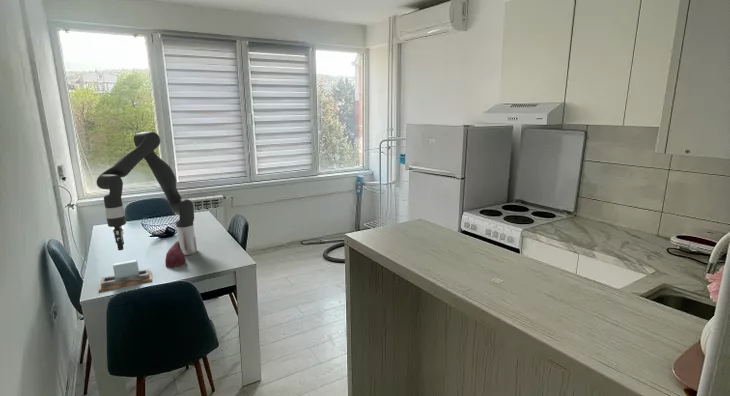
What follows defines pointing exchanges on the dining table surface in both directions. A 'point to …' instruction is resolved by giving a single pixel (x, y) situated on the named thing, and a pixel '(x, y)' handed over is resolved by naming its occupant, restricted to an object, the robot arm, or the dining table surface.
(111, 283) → the track board
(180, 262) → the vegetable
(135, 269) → the door panel
